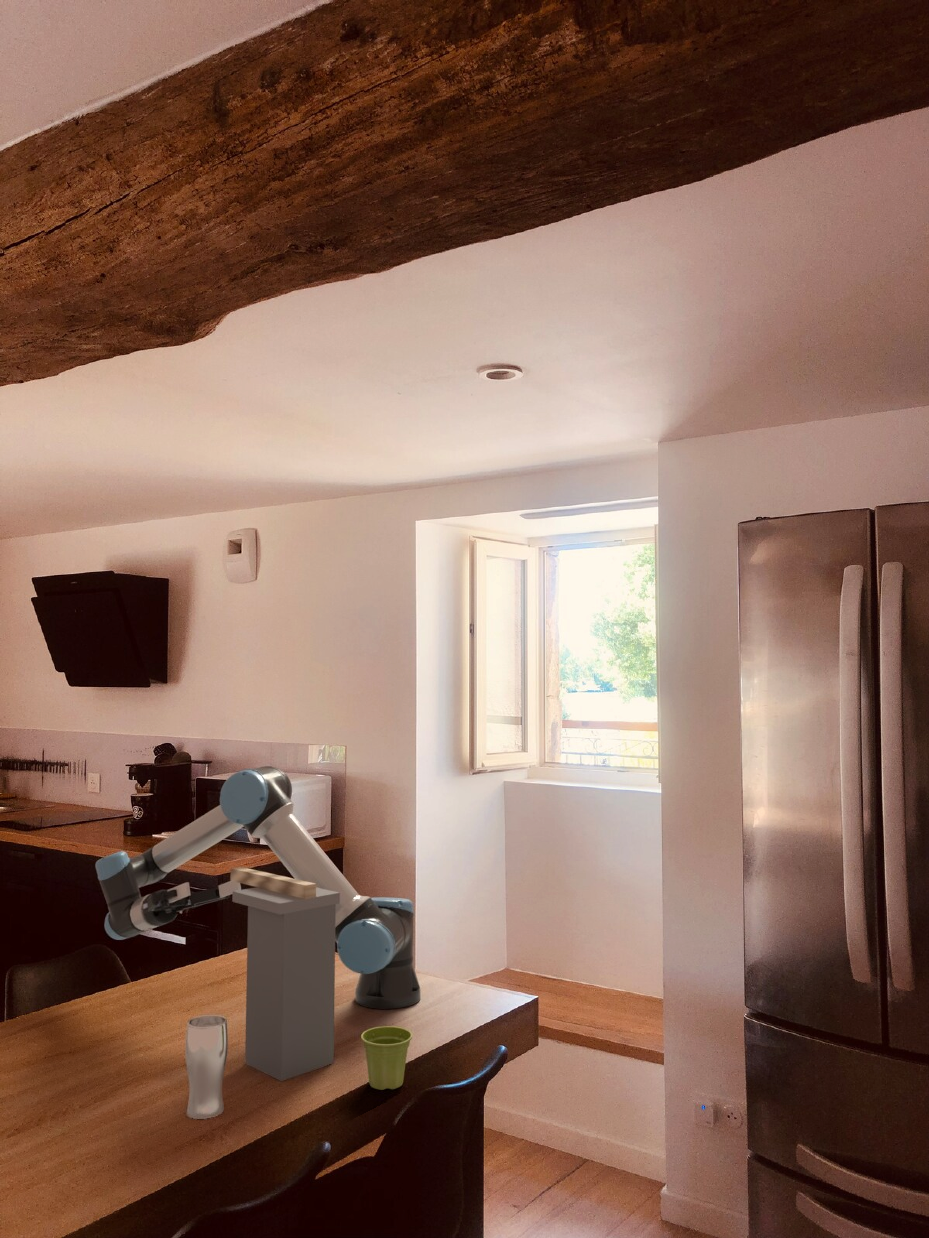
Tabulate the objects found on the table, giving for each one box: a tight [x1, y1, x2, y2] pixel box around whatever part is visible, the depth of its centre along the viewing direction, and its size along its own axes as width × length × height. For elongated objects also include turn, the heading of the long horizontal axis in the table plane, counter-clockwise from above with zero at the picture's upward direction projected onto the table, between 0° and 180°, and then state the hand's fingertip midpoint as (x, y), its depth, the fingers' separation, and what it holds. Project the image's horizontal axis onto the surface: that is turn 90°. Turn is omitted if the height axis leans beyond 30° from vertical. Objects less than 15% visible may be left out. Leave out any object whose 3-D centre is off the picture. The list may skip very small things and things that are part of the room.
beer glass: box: [184, 1014, 229, 1120], centre depth 164 cm, size 7×7×15 cm
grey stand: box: [231, 887, 340, 1082], centre depth 187 cm, size 16×14×32 cm
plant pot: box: [360, 1025, 413, 1091], centre depth 175 cm, size 9×9×9 cm
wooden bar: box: [229, 866, 316, 899], centre depth 192 cm, size 26×2×2 cm, turn 46°
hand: (214, 886), depth 208 cm, fingers open, 13 cm apart
